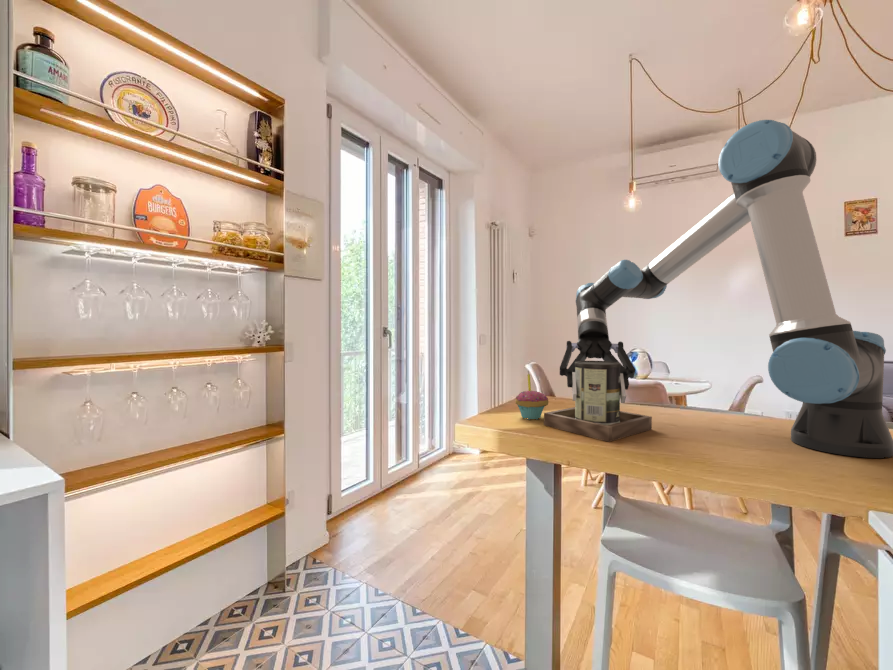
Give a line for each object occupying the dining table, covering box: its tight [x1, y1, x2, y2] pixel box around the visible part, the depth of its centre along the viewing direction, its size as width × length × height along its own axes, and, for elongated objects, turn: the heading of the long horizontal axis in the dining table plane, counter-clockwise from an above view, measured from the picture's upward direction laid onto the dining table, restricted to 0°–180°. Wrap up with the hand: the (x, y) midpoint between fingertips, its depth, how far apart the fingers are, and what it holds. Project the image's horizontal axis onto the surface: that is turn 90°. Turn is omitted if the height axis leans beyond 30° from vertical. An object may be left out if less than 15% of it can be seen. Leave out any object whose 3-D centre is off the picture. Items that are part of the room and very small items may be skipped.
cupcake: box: [514, 370, 550, 420], centre depth 109 cm, size 9×8×12 cm
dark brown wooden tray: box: [543, 406, 653, 443], centre depth 99 cm, size 17×17×3 cm
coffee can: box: [574, 360, 622, 425], centre depth 99 cm, size 10×10×14 cm
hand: (598, 398), depth 96 cm, fingers closed on coffee can, 10 cm apart
